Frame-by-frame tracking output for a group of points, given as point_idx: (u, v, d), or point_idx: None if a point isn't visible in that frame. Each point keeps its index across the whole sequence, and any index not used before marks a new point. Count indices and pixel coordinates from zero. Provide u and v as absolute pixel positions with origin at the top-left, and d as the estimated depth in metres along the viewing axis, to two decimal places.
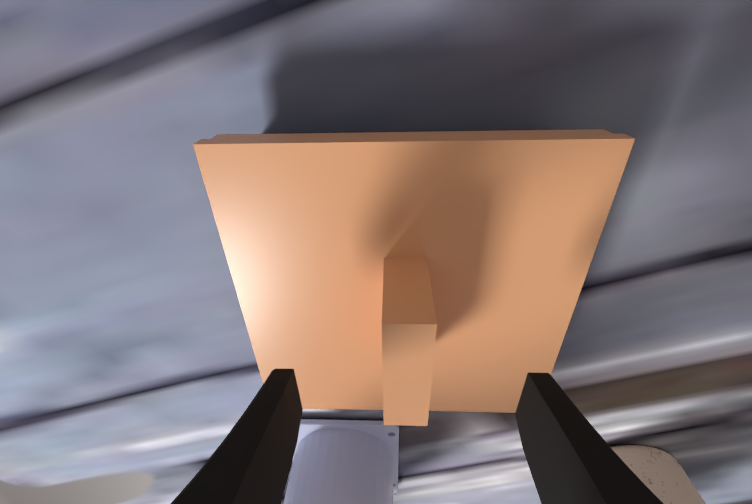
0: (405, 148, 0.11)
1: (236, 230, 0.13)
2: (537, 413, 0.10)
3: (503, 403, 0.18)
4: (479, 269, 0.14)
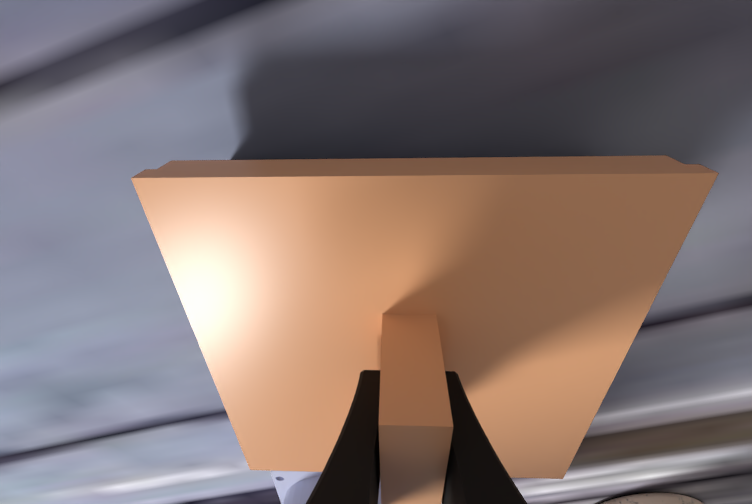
0: (410, 184, 0.08)
1: (196, 281, 0.10)
2: None
3: (523, 468, 0.15)
4: (501, 327, 0.11)
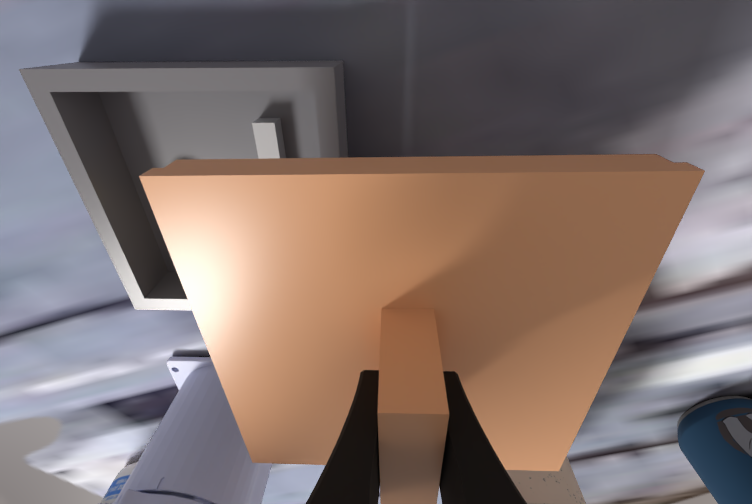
0: (408, 181, 0.09)
1: (200, 276, 0.11)
2: None
3: (520, 461, 0.15)
4: (497, 321, 0.11)
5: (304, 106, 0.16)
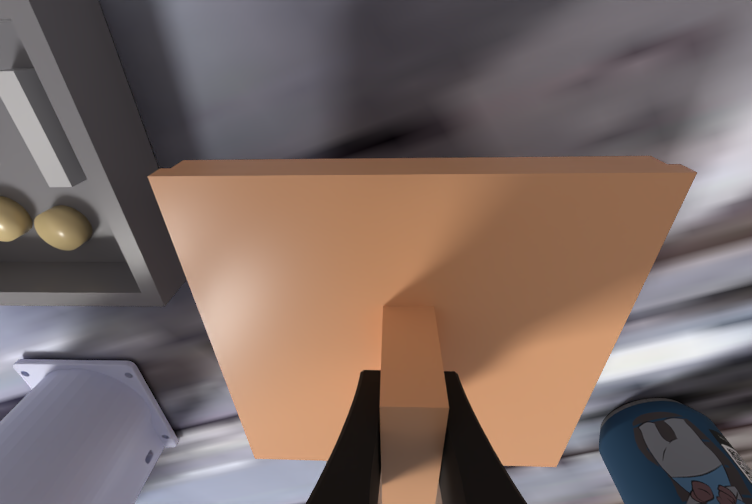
0: (409, 182, 0.09)
1: (206, 274, 0.11)
2: None
3: (518, 457, 0.16)
4: (496, 319, 0.11)
5: None
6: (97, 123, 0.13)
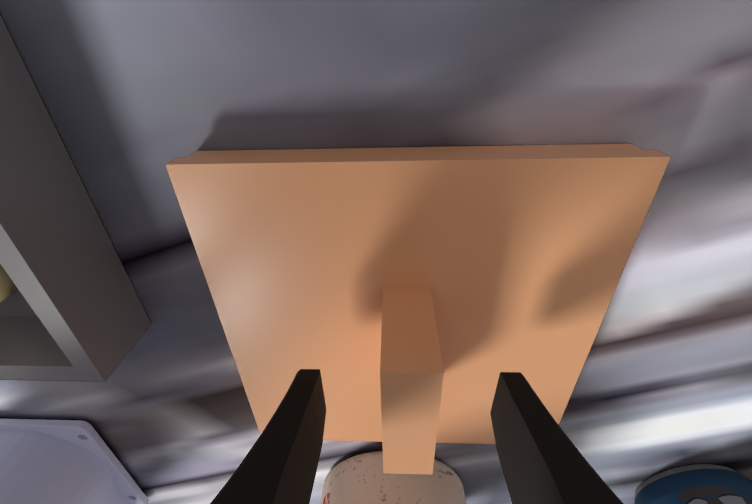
0: (406, 168, 0.10)
1: (218, 257, 0.12)
2: (507, 412, 0.10)
3: None
4: (489, 298, 0.12)
5: None
6: None
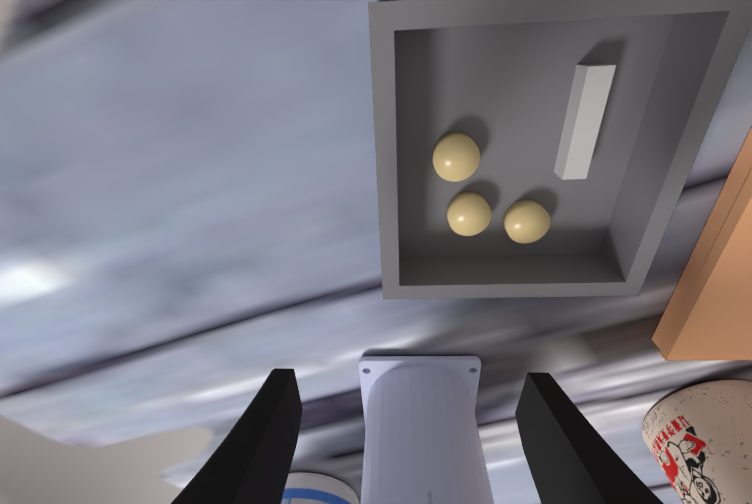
0: None
1: None
2: (537, 413, 0.10)
3: None
4: None
5: (638, 47, 0.14)
6: None
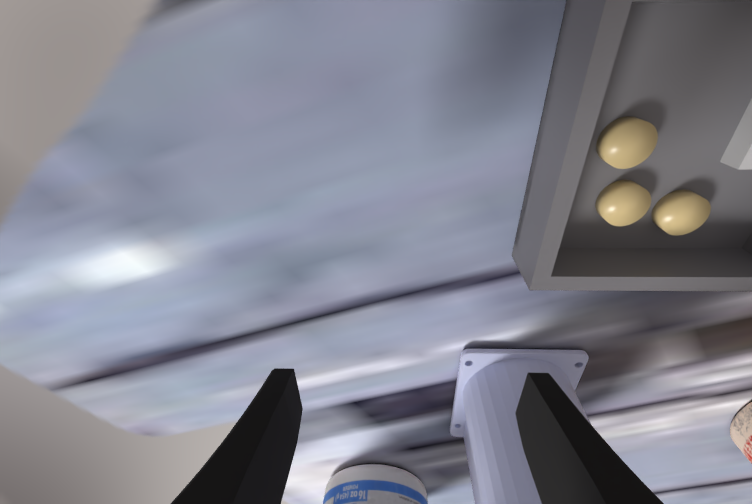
0: None
1: None
2: (537, 413, 0.10)
3: None
4: None
5: None
6: None
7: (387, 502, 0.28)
